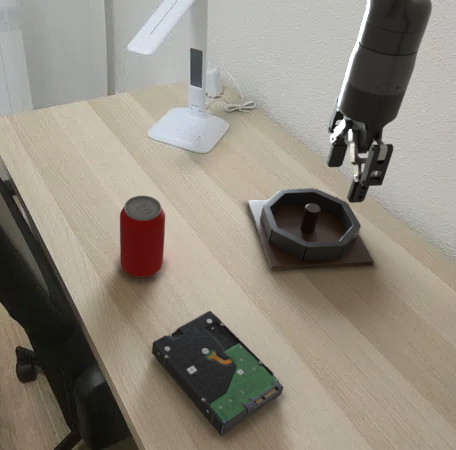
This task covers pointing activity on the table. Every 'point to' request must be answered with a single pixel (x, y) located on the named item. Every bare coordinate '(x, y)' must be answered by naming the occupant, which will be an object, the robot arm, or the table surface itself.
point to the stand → (307, 236)
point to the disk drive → (217, 371)
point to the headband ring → (299, 246)
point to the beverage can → (142, 236)
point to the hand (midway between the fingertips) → (343, 182)
